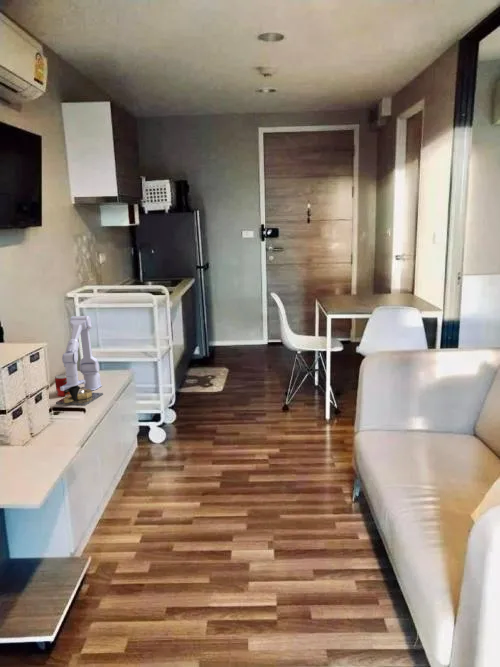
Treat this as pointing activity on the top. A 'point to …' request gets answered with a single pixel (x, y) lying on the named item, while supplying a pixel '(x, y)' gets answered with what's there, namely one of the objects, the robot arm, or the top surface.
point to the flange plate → (81, 401)
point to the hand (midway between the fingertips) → (74, 400)
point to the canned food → (59, 382)
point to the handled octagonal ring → (79, 396)
